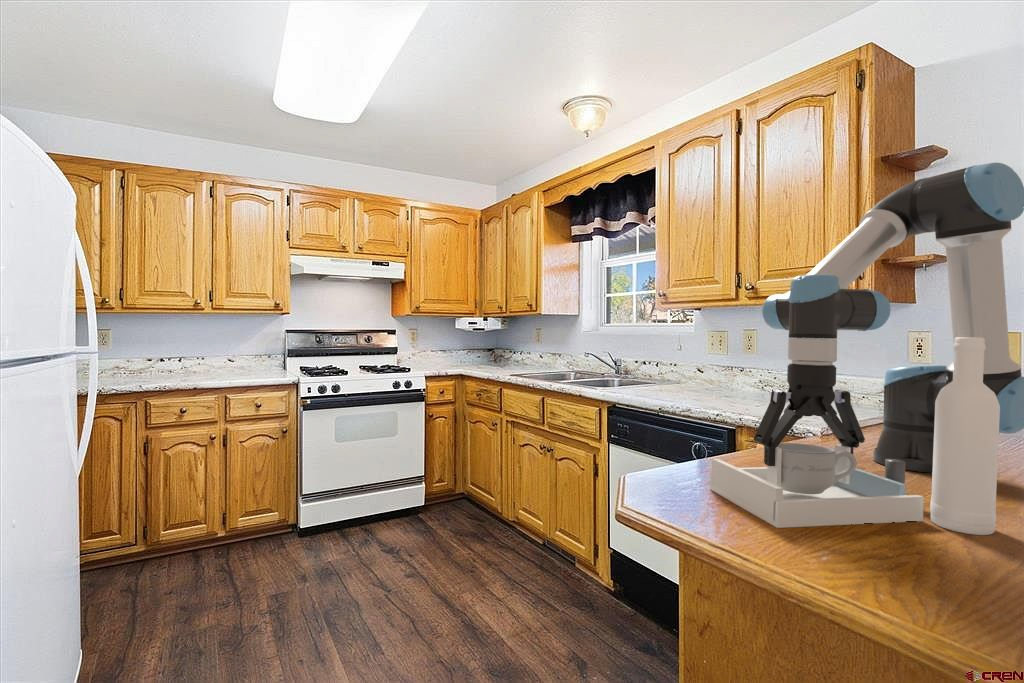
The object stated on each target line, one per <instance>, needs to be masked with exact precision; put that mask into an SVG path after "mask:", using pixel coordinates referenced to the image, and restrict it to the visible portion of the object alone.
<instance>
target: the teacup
mask: <svg viewBox="0 0 1024 683" xmlns="http://www.w3.org/2000/svg"><path fill="white" fill-rule="evenodd" d="M777 448H780V449H782V461H781V486H779V487H781V488H783V490H785V491H789V492H793V493H801V494H821V493H823V492H824V491H825V490H826V489H828V488H829V487H831V486H832V484H834V483H836V482H837V481H838V480H839V479H841V478H843V477H846V476H848V475H849V474H851V473H852V472H853V471H854V470H855V469H856V468H857V465H858V461H857V458H856V457H855V455H854V453H853V454H851V453H850V452H847V451H839V452H836V453H835V448H832V447H828V446H823V445H818V444H817V445H816V444H810V443H809V444H808V443H798V442H797V443H796V442H781V443H780V444H779V445H778V446H777ZM843 456H844V457H847V458H849V460H850V465H849V467H848V468H847V469H846V470H844V471H842V472H840V473H836V474H835V465H836V464H837V461H838V460H839V458H841V457H843Z"/></svg>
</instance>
